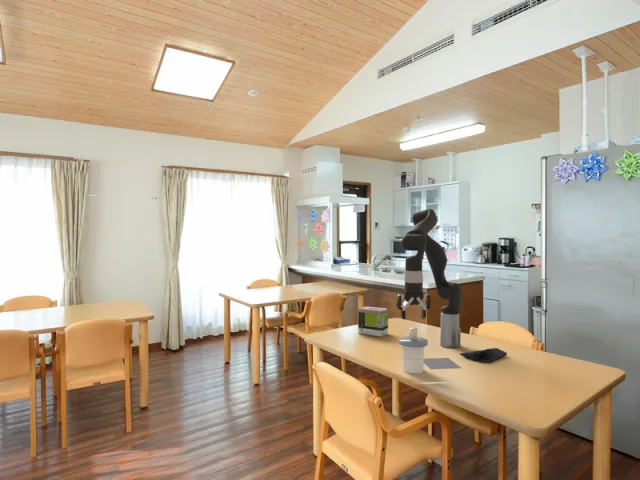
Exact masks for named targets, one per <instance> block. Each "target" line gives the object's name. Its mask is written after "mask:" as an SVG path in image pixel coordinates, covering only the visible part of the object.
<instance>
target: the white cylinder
mask: <svg viewBox="0 0 640 480" xmlns="http://www.w3.org/2000/svg"><path fill="white" fill-rule="evenodd" d="M401 349H402V350H401V352H402V353H401V358H402V359H401V369H402V371H403V372H405V373H408V374H422V373H424V370H425V369H424V367H425V366H424V365H425V364H424V359H425V358H424V357H425V355H424V354H425V347H407V346H403V345H401Z"/></svg>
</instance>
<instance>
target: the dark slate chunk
mask: <svg viewBox="0 0 640 480" xmlns="http://www.w3.org/2000/svg"><path fill="white" fill-rule="evenodd" d="M507 355H508V352H507V351H504V350H502V349H500V348H497V347H494V348H486V349H481V350H473V351H466V352H462V353H459V356H462V357H463V358H464V359H466V360H468V361H473V362H476V363H477V362H478V363H481V364H489V362H491V363H493V362H492V361H494V362H495V361H497V359H498V360H500V358H501V359H502V357H503V358H504V357H506V356H507Z"/></svg>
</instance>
